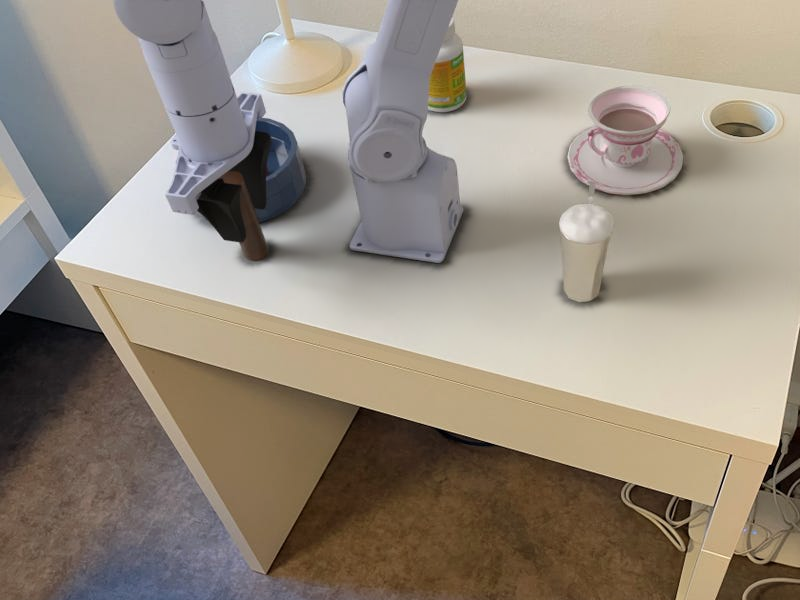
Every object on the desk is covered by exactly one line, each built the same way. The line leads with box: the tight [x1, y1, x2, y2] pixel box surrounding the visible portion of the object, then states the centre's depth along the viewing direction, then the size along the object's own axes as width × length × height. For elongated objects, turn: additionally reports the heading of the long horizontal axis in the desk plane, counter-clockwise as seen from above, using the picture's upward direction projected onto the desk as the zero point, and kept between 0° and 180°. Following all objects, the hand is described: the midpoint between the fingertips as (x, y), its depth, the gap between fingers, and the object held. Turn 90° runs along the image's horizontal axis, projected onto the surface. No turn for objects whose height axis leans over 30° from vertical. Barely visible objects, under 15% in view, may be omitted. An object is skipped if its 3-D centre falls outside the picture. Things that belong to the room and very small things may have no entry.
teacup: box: [567, 85, 684, 196], centre depth 84 cm, size 12×12×6 cm
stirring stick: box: [219, 171, 269, 262], centre depth 77 cm, size 2×2×9 cm
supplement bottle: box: [428, 16, 467, 113], centre depth 91 cm, size 5×5×10 cm
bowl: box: [175, 117, 307, 224], centre depth 85 cm, size 12×12×4 cm
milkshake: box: [558, 182, 615, 303], centre depth 71 cm, size 4×5×10 cm
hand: (245, 222), depth 77 cm, fingers open, 4 cm apart
